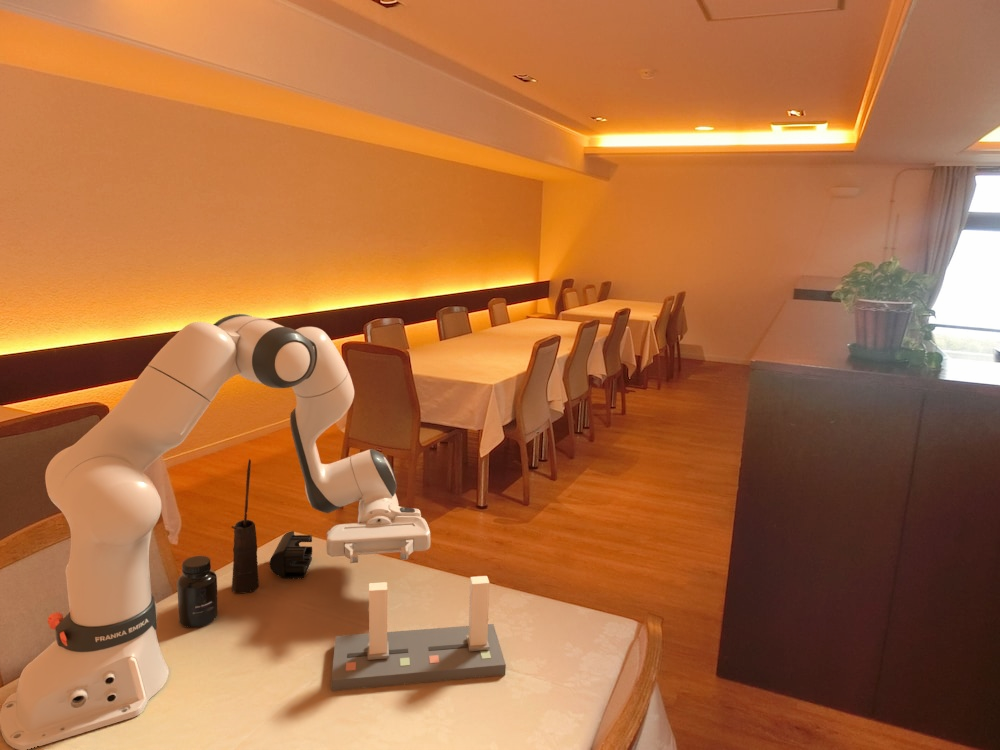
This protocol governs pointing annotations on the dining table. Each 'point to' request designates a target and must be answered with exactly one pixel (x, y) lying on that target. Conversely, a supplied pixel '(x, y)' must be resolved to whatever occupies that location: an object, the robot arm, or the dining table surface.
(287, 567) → the end cap
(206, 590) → the supplement bottle
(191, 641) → the dining table surface
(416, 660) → the breaker panel
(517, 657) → the dining table surface
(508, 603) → the dining table surface
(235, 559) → the butter churn
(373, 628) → the breaker lever
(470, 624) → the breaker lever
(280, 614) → the dining table surface
